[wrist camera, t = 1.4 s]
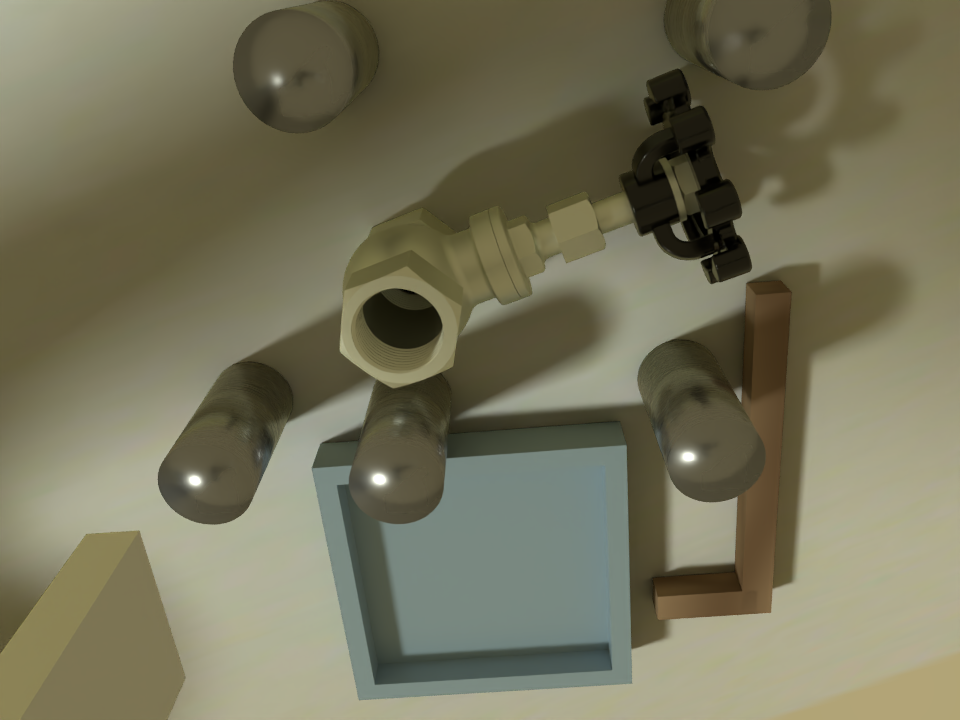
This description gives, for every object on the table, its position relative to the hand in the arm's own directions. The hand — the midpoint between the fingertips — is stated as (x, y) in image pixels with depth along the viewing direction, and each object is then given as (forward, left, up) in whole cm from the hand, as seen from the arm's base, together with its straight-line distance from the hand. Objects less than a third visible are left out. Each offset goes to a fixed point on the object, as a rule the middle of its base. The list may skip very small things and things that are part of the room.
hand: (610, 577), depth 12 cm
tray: (-3, -14, -19) cm, 24 cm away
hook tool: (+6, -10, -19) cm, 22 cm away
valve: (-1, 0, -20) cm, 19 cm away
